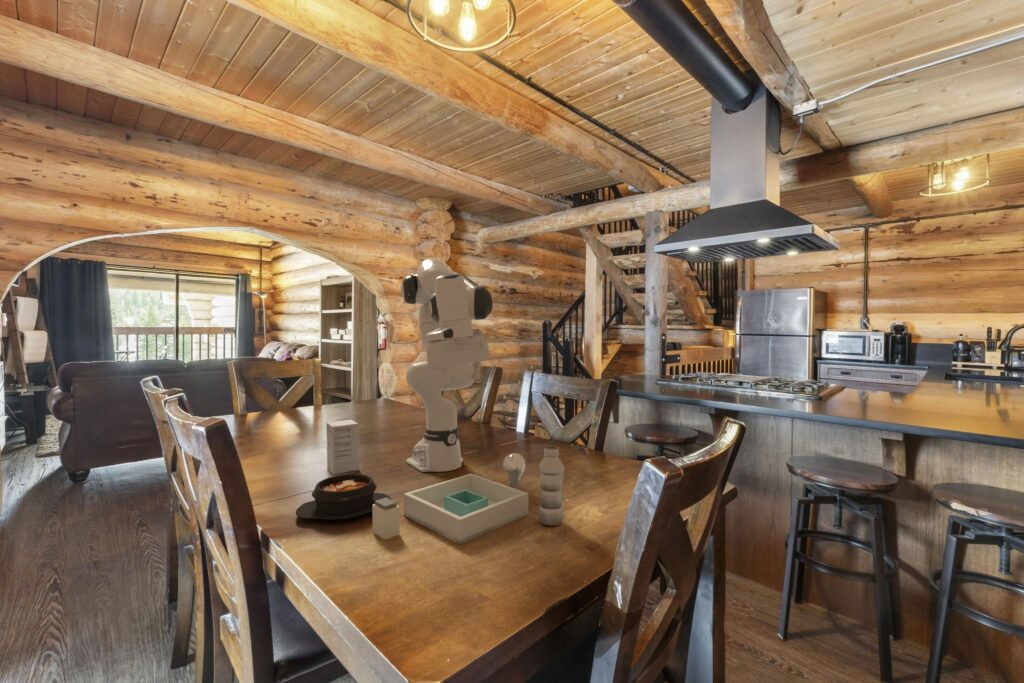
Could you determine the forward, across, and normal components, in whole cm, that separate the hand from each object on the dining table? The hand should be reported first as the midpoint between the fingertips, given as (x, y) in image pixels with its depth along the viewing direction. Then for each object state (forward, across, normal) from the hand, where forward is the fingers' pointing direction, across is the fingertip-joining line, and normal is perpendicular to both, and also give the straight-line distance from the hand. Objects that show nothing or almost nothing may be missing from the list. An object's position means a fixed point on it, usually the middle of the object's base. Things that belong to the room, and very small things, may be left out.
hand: (463, 381), depth 127 cm
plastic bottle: (+40, -7, +18) cm, 44 cm away
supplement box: (+29, +6, -65) cm, 71 cm away
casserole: (+32, +24, -29) cm, 49 cm away
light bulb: (+38, -18, -4) cm, 42 cm away
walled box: (+36, +4, -2) cm, 36 cm away
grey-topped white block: (+34, +24, -9) cm, 43 cm away
